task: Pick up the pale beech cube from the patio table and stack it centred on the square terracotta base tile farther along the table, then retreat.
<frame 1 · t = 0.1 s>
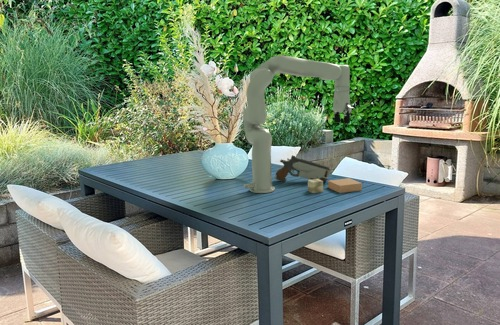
hand: (341, 123, 222), 31 cm above the table, tool pointing down, fingers open, 9 cm apart
beech cube: (315, 191, 210), on the table
gun: (302, 182, 231), on the table
terracotta base: (344, 189, 212), on the table
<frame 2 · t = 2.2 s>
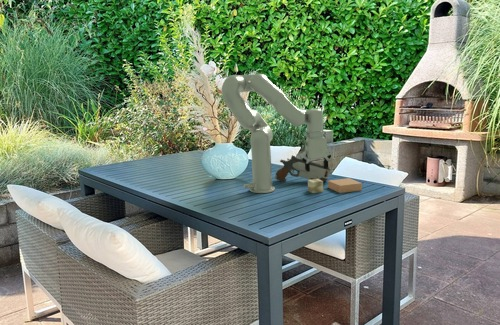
hand: (316, 169, 207), 11 cm above the table, tool pointing down, fingers open, 9 cm apart
nothing on the table moved.
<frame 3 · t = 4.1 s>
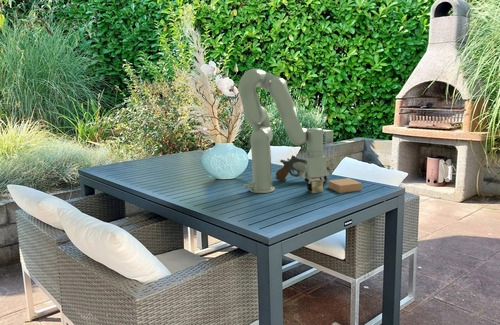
hand: (315, 189, 209), 1 cm above the table, tool pointing down, fingers closed on beech cube, 5 cm apart
beech cube: (315, 191, 210), on the table, touching gripper
everything else where it was.
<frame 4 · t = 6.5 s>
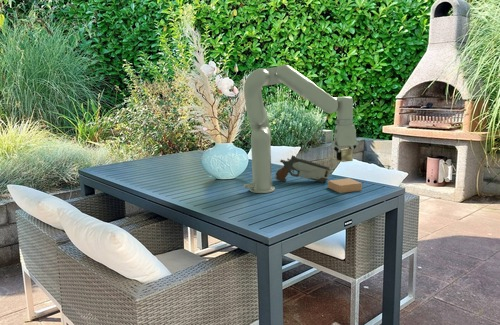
hand: (344, 159, 209), 15 cm above the table, tool pointing down, fingers closed on beech cube, 5 cm apart
beech cube: (344, 160, 209), point 14 cm above the table, touching gripper
everything else where it was.
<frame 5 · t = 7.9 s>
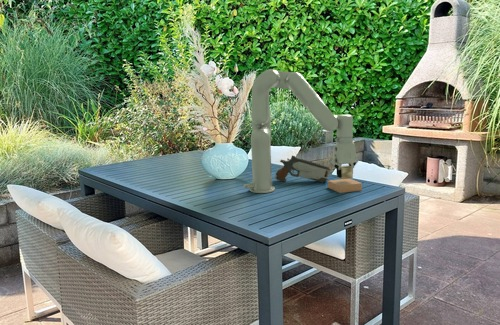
hand: (344, 176, 211), 6 cm above the table, tool pointing down, fingers closed on beech cube, 5 cm apart
beech cube: (344, 177, 211), point 6 cm above the table, touching gripper
everything else where it was.
when the fingers open (6 cm above the table, at t = 8.9 s): beech cube drops 1 cm, resting on terracotta base.
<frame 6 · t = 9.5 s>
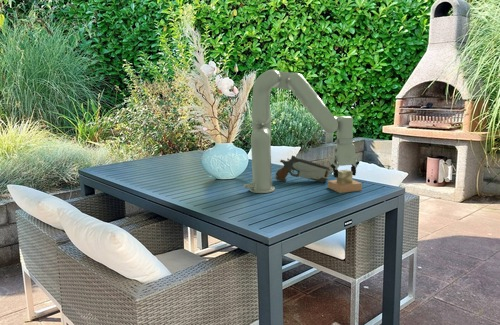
hand: (344, 176, 211), 7 cm above the table, tool pointing down, fingers open, 9 cm apart
beech cube: (344, 181, 212), point 3 cm above the table, touching terracotta base
terracotta base: (344, 189, 212), on the table, touching beech cube
everything else where it was.
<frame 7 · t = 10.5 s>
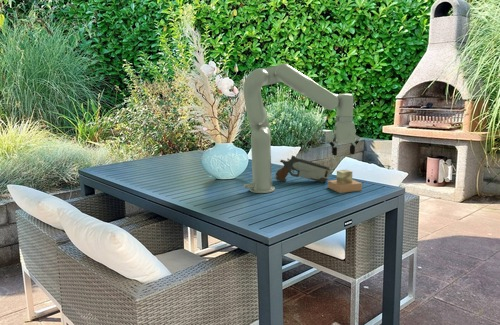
hand: (343, 154, 209), 17 cm above the table, tool pointing down, fingers open, 9 cm apart
beech cube: (344, 181, 212), point 3 cm above the table
terracotta base: (344, 189, 212), on the table
everything else where it was.
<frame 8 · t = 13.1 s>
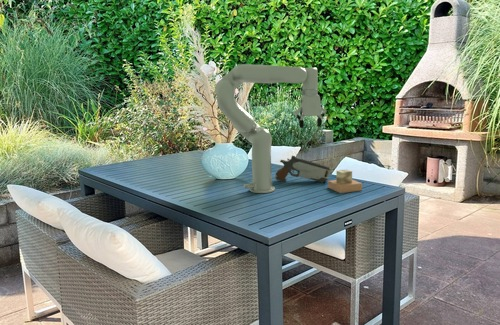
hand: (310, 127, 215), 30 cm above the table, tool pointing down, fingers open, 9 cm apart
beech cube: (344, 181, 212), point 3 cm above the table, touching terracotta base
terracotta base: (344, 189, 212), on the table, touching beech cube
everything else where it was.
at the end: beech cube inside the target area on the terracotta base (0.5 cm from its centre), point 4.0 cm above the terracotta base's base; beech cube tilted 0°; the gripper is holding nothing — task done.
